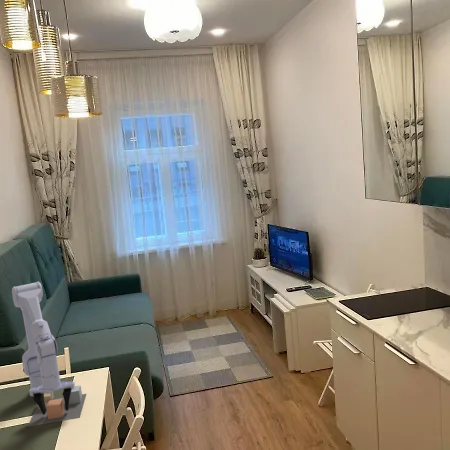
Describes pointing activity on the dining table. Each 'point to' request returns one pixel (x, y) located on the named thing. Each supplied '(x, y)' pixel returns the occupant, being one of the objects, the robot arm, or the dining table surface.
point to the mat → (72, 413)
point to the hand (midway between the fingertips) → (56, 411)
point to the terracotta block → (55, 408)
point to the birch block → (47, 398)
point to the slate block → (75, 395)
